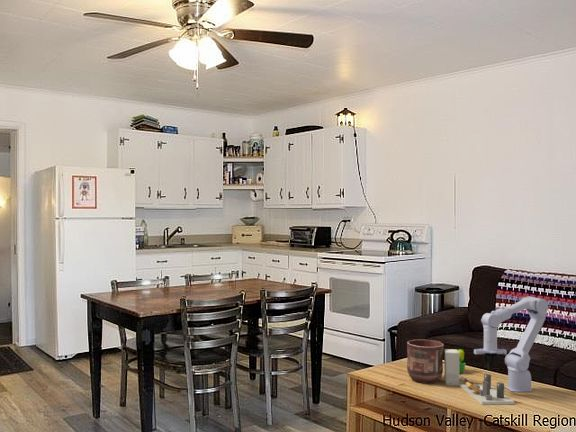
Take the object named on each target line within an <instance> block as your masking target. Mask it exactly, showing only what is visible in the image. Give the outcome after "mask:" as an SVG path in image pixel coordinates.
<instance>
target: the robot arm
mask: <svg viewBox="0 0 576 432" xmlns="http://www.w3.org/2000/svg"><path fill="white" fill-rule="evenodd" d="M549 309H550V307H549V304H548V302H547V300H546V299H545V298H539V297H534V296H530V295H528V296H527V295H526V296H525V297H522V298H521V300H519V301H516V302H515V303H513V304H512V305H509V306H508V307H506V306H499V308H498V309H496V310H492V311H491V312H489V313H488V312H486V313H484V314H483V315H482V317H481V319H480V322H481V324H482V327H483V348H475V349H474V348H473V354H474V355H482V357H484V360H485V362H486V363H485V364H486V367H487V370H488V371H493V370H494V366H495V363H496V361H497V359H498V358H499V355H505V358H504V364H505V365H506V366H507V372H508V373H507V377H508V378H507V382H508V383H507V385H504V388H506V389H507V390H509V391H511V392H515V393H516V392H520V393H521V392H523V393H526V392H529V393H530V392H531V393H532V392H533V390H532V375H531V372H530V370H528V369H529V366H530V361H531V356H530V355H529V353H530V350H531V348H532V347H533V344H534V343H535V340H536V339H537V337H538V335H539V333H540V331H541V329H542V327H543V325H544V322H545V320H546V316H547V315H546V314H547V312H548V310H549ZM524 310H526V312H527V314H528V315H529V316H530V319H529V322H528V324H527V325H526V328H525V329H524V332H523V334H522V336H521V337H520V339H519V341H518V343H517V346H516V347H514V348H512V349H511V350H510V351H509V353H508V354H507V349H505V348H498V327H499V326H500V324H501V323H502V322H505V321H508V320H509V319H511V318H512V315H514V314H516V313H519V312H521V311H524Z"/></svg>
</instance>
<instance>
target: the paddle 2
mask: <svg viewBox="0 0 576 432" xmlns="http://www.w3.org/2000/svg"><path fill="white" fill-rule="evenodd" d="M482 384H483V396H485V397H486V395H490V383H489V382H487V381H484V380H482Z"/></svg>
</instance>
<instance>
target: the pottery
mask: <svg viewBox="0 0 576 432" xmlns="http://www.w3.org/2000/svg"><path fill="white" fill-rule="evenodd" d="M444 344H445V343H442V342H441V341H439V340H432V339H418V338H417V339H412V340H408V341H407V342H406V347H407V349H406V352H407V359H406V362H407V363H406V364H407V368H406V370H407V373H408V375H409V377H410V378H411V379H412V380H413V381H414V382H415V383H416V382H417V383H421V384H433V383H436V382H438V380H440V379H441V377H442V375H443V374H444V373H443V372H444V366H443V365H444V363H443V362H444V349H445V345H444Z"/></svg>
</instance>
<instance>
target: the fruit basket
mask: <svg viewBox="0 0 576 432" xmlns="http://www.w3.org/2000/svg"><path fill="white" fill-rule="evenodd" d="M457 350H458V352H459V374H464V370H465V367H466V364H467V363H465V362H464V359H465V352H464V349H460V348H459V349H457Z"/></svg>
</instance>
